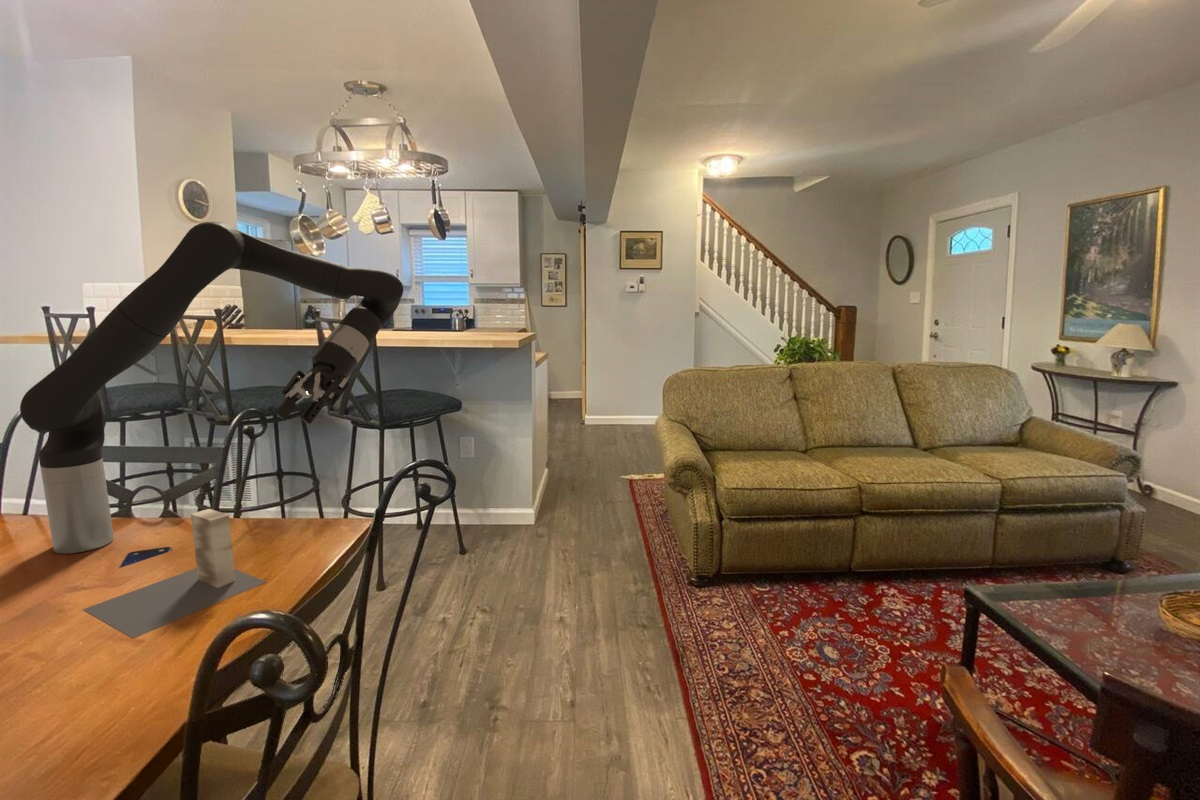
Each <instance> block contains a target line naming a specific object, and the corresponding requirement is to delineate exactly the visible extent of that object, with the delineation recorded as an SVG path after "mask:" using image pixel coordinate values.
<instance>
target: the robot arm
mask: <svg viewBox="0 0 1200 800" xmlns="http://www.w3.org/2000/svg"><path fill="white" fill-rule="evenodd" d="M231 269H232V270H241V271H248V272H254V273H259V274H264V275H267V276H270V277H273V278H276V279H280V280H282V281H284V282H287V283H290V284H292V285H295V286H298V287H300V288H302V289H305V290H309V291H311V292H314V293H317V294H321V295H325V296H328V297H332V298H335V299H339V300H349V299H350V298H352V297H353V296H355V297H357V296H358V297H361V301H360V302H359V303H358V304H357V305H356V306H355V307H352V308H351V309H350V310H349V311H348V313H346V315H345V316H344V318H343V319H342V320H341V321H340V322H339V324H338V325H337V326H336V327H335V328H334V329H333V330H332V331H331V332H330V334H329V335H328V336H327V338H326V339H325V340H324V341H323V343H322V344H321V345H320V346H319V348H318V349H317V350H316V352H314V354H313V356H312V357H311V363H312V367H311V368H310V370H308V371H307V372H306V373H305V372H303V371H302V370H300V369H299V370H297V371H296V372H295V373H294V375H293V376H292V377H291V379H290V380H289V382H288V383H287V385H285V387H284V388H283V390H282V391H281V394H282V395H283V396H284V397H285V399H284V401H283V402H281V404H280V405H279V407H278V408H277V410H276V412H275V415H277V417H279V418H280V419H282V420H286V419H288V417H289V416H290V415H291V413H292V412H293V410H294V409H295V408H296V407H297V404H299V403H300V402H302V401H303V400H304V399H309V398H311V397H312V396H313V397H312V398H313V399H312V401H310V403H309V404H307V407H305V409H304V411H303V412H302V414H300V417H299V418H300V419H301V421H303V422H304V423H305V424H309V425H310V424H312V423H313V422H314V420H315V419H316V418H317V416H318V415H319V414H320V412H321V410H322V409H325V408H327V406H329V407H330V408H332V407H334V406H335V405H336V403H337V402H338V401H339V399H340V398H341V396H342V395H343V394H344V392H345V391H346V390H347V388H348V387H349V385H350V381H348V378H349V376H351V375H350V374H352V372H353V370H354V369H356V366H357V365H358V364H359V362H360V361H361V359H362V358H363V356H364V355H365V353H366V351H367V349H368V347H369V346H370V344H371V343H372V342H373V340H374V339H375V337H376V336H377V335H378V333H379V331H380V329H381V328H382V327H383V326H384V325H385V324H386V323H387V322H388V320H389V319H390V318H391V317H392V316H393V314H394V313H395V312H396V310H397V309H398V308H399V307H398V306H399V304H400V302H401V299H402V297H403V295H404V286H403V283H402V282H401V280H400V278H398V277H397V276H396V275H394V274H392V273H390V272H388V271H384V270H380V269H375V268H374V269H371V268H364V267H350V266H347V265H343V264H340V263H337V262H334V261H330V260H327V259H323V258H320V257H317V256H314V255H313V256H312V255H309V254H305V253H302V252H297V251H294V250H290V249H287V248H283V247H281V246H277V245H275V244H271V243H269V242H266V241H263V240H261V239H259V238H257V237H254V236H252V235H250V234H248V233H246V232H243V231H242V230H239V229H237V228H235V227H234V226H232V225H230V224H228V223H225V222H220V221H203V222H201V223H200V222H199V223H198V224H196V225H194V226H192V227H191V228H190V229H189V230H188V231H187V232H186V234H185V235H184V237H183V238H182V239H181V241H180V242H179V244H177V245H176V248H174V250H173V251H172V252H171V254H170V255H169V256H168V257H167V259H166V260H165V261H164V263H163V264H162V265H161V266H160V267H159V268H158V269H157V270H156V271H155V272H154V273H153V274H151V275H150V276H149V277H147V278H146V279H145V280H144V281H143V282H142V283H140V284H139V285H138V286H137V287H136V288H134V289H133V290H132V291H131V292H130V293H129V294H127V296H126V297H124V298H123V299H122V300H121V301H120V302H119V303H118V304H117V305H116V306H115V307H113V309H112V310H110V312H109V313H108V314H107V315H106V316H105V317H104V318H103V319H102V320H101V322H100V323H99V324H98V325H97V327H95V328H94V329H93V330H92V331H91V333H89V335H88V336H87V337H86V338H85V339H84V340H83V341H82V342H81V343H80V344H79V345H78V346H77V348H76V349H75V350H74V351H73V352H72V353H71V354H70V355H69V356H68V358H66V359H65V360H64V361H63V362H62V363H61V364H59V365H58V366H57V367H56V368H55V369H53V370H52V371H51V372H49V373H48V374H47V375H46V376H44V377H43V378H42V379H41V380H40V381H38V382H37V383H36V384H34V385H33V386H32V387H31V388H29V389H28V390H27V391H26V393H25V394H24V395H23V397H22V399H21V402H20V404H19V411H20V412H19V413H20V415H21V418H22V421H24V423H25V424H26V425H27V426H28V427H30V428H31V429H34V430H36V431H40V432H48V436H47V440H46V442H45V444H44V445H43V446H42V448H41V449H40V450H39V452H38V460H39V461H38V462H39V465H40V466H39V467H40V474H41V479H42V486H43V492H44V498H45V504H46V512H47V516H48V523H49V530H50V536H51V543H52V549H53V552H55V553H56V554H66V555H67V554H76V553H77V554H78V553H82V552H87V551H91V550H97V549H98V548H101V547H104V546H106V545H108V544H110V543H111V542H113V541H114V539H115V537H114V530H113V522H112V515H111V508H110V500H109V494H108V487H107V480H106V473H105V467H104V466H105V465H104V458H103V448H104V444H105V441H106V439H105V437H106V436H105V423H104V413H103V405H102V401H101V397H100V395H99V393H98V392H99V391H100V390H101V389H102V388H103V387H104V386H105V385H106V384H108V383H109V382H110V381H111V380H113V379H114V378H115V377H118V376H119V375H120V374H122V373H124V372H125V371H126V370H128V369H129V368H131V367H133V366H134V365H136V364H137V363H139V362H140V361H141V360H143V359H145V358H146V357H147V356H148V355H149V354H151V352H153V351H154V350H155V349H156V348H157V347H158V346H159V345H160V344H161V343H162V341H164V340H165V338H166V337H168V336H169V334H170V333H172V331H173V330H174V329H175V328H176V326H177V324H179V322H180V321H181V319H182V318H183V317H184V315H185V314H186V311H187V310H188V309H189V306H190V305H191V303H192V302H193V300H194V299H195V298H196V297H197V295H199V294H200V293H201V292H202V291H203V290H204V289H205V288H206V287H208V286H209V285H210V284H211V283H212V282H214V280H216V279H217V278H218V277H219V276H221V275H222V274H223V273H225V272H227V271H228V270H231ZM332 394H333V396H332Z"/></svg>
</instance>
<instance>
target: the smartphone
mask: <svg viewBox="0 0 1200 800" xmlns="http://www.w3.org/2000/svg"><path fill="white" fill-rule="evenodd" d="M172 551H173V548H172V547H171V546H165V547H157V548H156V547H154V548H149V549H142V550H135V551H131V552H129V553H126V555H125V556H124V558H123V560H122V561H121V563H120V565H119V567H118V569H121V568H124V567H127V566H130V565H133V564H135V563H138V562H142V561H145V560H148V559H151V558H154V557H157V556H160V555H164V554H167V553H170V552H172Z"/></svg>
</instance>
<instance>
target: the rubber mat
mask: <svg viewBox="0 0 1200 800" xmlns="http://www.w3.org/2000/svg"><path fill="white" fill-rule="evenodd" d="M234 569H235V579H236V581H234V582H231V583H229V584H226V585H224V586H221V587H219V588H217V587H214V586H212V585H210V584H207V583H205V582H203V581H200V580H198V572H197V567H196V568H193V569H190V570H188V571H185V572H182V573H179V574H176V575H173V576H170V577H168V578H166V579H163V580H160V581H157V582H154V583H152V584H149V585H146V586H142V587H141V588H137V589H135V590H132V591H130V592H127V593H124V594H121V595H118V596H116V597H112V598H111V599H108V600H105V601H102V602H99V603H97V604H93V605H90V606H88V607H86V608H83V609H82V611H84V612H85V613H87V614H90V615H91V616H93V617H94V618H96V619H98V620H100V621H101V622H103V623H105V624H107V625H108V626H110V627H111V628H112V629H115V630H117V631H119V632H121V633H123V634H124V635H126V636H128V637H129V638H131V639H135V638H137V637H140V636H142V635H145V634H147V633H150V632H152V631H154V630H157V629H158V628H162V627H164V626H166V625H168V624H171V623H173V622H175V621H178V620H180V619H182V618H185V617H188V616H190V615H192V614H195V613H197V612H199V611H201V610H204V609H206V608H208V607H211V606H213V605H216V604H218V603H220V602H222V601H226V600H228V599H231V598H232V597H235V596H237V595H239V594H242V593H244V592H247V591H249V590H251V589H254V588H256V587H258V586H261V585H264V584H266V583H267V581H266V580H264V579H261V578H258V577H256V576H253V575H251V574H248V573H246V572H244V571H241V570H238V569H236V568H234Z"/></svg>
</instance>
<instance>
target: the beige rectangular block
mask: <svg viewBox="0 0 1200 800" xmlns="http://www.w3.org/2000/svg"><path fill="white" fill-rule="evenodd" d="M190 518H191V528H192V535H193V544H194V551H195V552H194V553H195V563H196V564H195V565H196V568H197V572H198V580H200V581H203V582H205V583H207V584H210V585H212V586H214V587H217V588H219V587H221V586H224V585H226V584H229V583H231V582H234V581H236V579H235V569H236V568H235V561H234V552H233V543H232V541H233V540H232V533H231V524H230V523H231V522H230V515H229V514H227V513H225V512H224V513H223V512H221V511H217V510H214V509H213V508H206V509H204V510H200V511H196V512H194V513H191V514H190Z"/></svg>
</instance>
